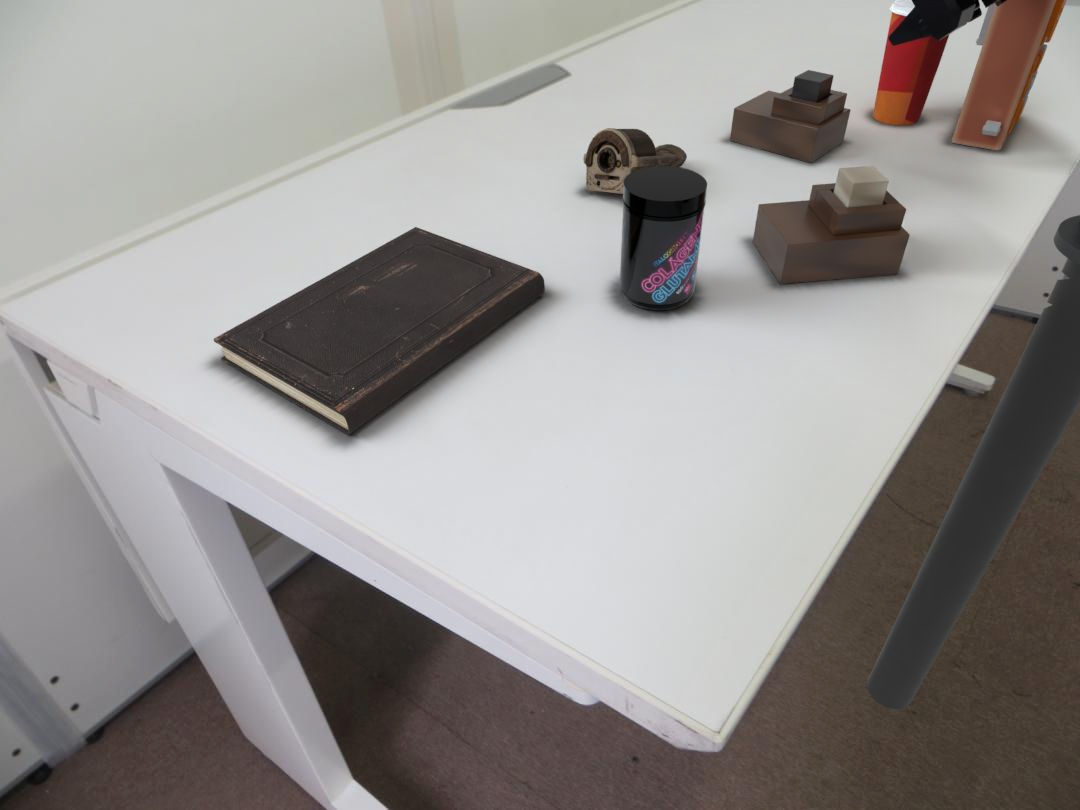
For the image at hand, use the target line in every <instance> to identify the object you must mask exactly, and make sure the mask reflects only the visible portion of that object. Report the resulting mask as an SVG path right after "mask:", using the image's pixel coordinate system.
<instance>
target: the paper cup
mask: <svg viewBox="0 0 1080 810" xmlns="http://www.w3.org/2000/svg"><path fill="white" fill-rule="evenodd" d="M914 7H915V6H914V4H913V2H912V0H894V1H893V3H892V4H891V6H890V7H889V9H888V11H889V12H891V16H890V21H889V26H888V32H887V36H886V42H885V46H884V52H883V58H882V63H881V67H880V74H879V78H878V79H879V80H878V85H877V90H876V95H875V101H874V107H873V113H872V117H873V119H875V120H876V121H878V122H880V123H883V124H886V125H892V126H910V125H914V124H917V123H918V122H919V120H920V118H921V116H922V113H923V111H924V108H925V105H926V103H927V100H928V97H929V94H930V91H931V89H932V86H933V83H934V80H935V77H936V75H937V72H938V69H939V66H940V64H941V61H942V58H943V56H944V52H945V48H946V46H947V43H948V40H949V37H950V36H951V34H949V35H948V36H946V37H944V38H943V39H941V40H939V41H937V40H936V39H935V38H933V37H932V36H929V37H926V38H922V39H918V40H914V41H911V42H907V43H903V44H899V45H896V46H893V45H892V44H891V42H890V41H889V36H890V34H891V33H892V32H893V31H894V30H895V29H896V28H897V27H898V25H899V24H900V23H901V22H902V21H903V20H904V19H905V17H906V16H907V15H908V14H909V13H910V12H911V11H912V9H913V8H914Z"/></svg>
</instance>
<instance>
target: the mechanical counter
mask: <svg viewBox="0 0 1080 810" xmlns="http://www.w3.org/2000/svg"><path fill="white" fill-rule="evenodd" d="M687 158H688V156H687V153H686V152H685V150H683V149H682V148H681V147H679V146H677V145H674V144H670V143H665V144H661V145H658V146H655V143H654V140H653V139H652V138H651V137H650V135H648V133H647V132H645V131H644V130H641V129H639V128H614V127H613V128H612V127H607V128H604V129H602V130H599V131H598V132H597V133H596V134H595V135H594V136H593V137H592V138H591V140H590V142H589V145H588V147H587V150H586V152H585V153H584V154H583V158H582V159H583V164H584V165H585V166H586V167H585V168H586V169H585V170H586V173H585V174H586V176H585V177H586V178H585V190H586V191H592V192H602V193H603V192H605V193H612V194H621V195H623V186H624V179H625V178H626V176H627V175H629V174H630V173H632V172H634V171H636V170H639V169H642V168H646V167H653V166H673V167H680V168H681V167H682V166H683V165H684V164H685V162H686V160H687Z"/></svg>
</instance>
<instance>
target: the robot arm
mask: <svg viewBox="0 0 1080 810" xmlns="http://www.w3.org/2000/svg"><path fill="white" fill-rule="evenodd" d="M1006 1H1008V0H981V2H982V4H983V6H984V7H985V9H988V7H989V6H990V5H992V4H994V3H995V4H996V6H997V7H998V6H999V5H1001V4H1003V3H1005V2H1006ZM912 2H913V4H914V6H915V7H914V8H913V9H912V11H911V12H910V13H909V14H908V15H907V16H906V17H905V19H904V20H903V21H902V22H901V23H900V24H899V25H898V27H897V28H896V29H895V30H894V31H893V32H892V33H891V34H890V36H889V41H890V42H891V44H892V45H893V46H896V45H899V44H903V43H907V42H911V41H914V40H918V39H922V38H926V37H929V36H932V37H933V38H935V39H936V40H937V41H939V40H941V39H943V38H944V37H946V36H948V35H949V34H950V35H951V34H952V33H954V32H956V31H957V30H960V29H961V28H962V27H964V26H966V25H967V24H968V23H970V22H973V21H975V20H976V19H978V18H980V17H981V16H982V15H983V12H982V9H981V4H980V0H912ZM950 35H949V36H950ZM1079 223H1080V222H1079Z"/></svg>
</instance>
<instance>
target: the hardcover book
mask: <svg viewBox="0 0 1080 810" xmlns="http://www.w3.org/2000/svg"><path fill="white" fill-rule="evenodd" d="M545 289H546V284H545V278H544V277H543V275H542V274H541V272H538V271H537V270H533V269H530V268H528V267H525V266H523V265H520V264H517V263H514V262H511V261H509V260H506V259H504V258H501V257H498V256H496V255H492V254H490V253H487V252H485V251H482V250H479V249H477V248H475V247H472V246H469V245H465V244H463V243H460V242H458V241H455V240H453V239H451V238H446V237H445V236H441V235H439V234H436V233H433V232H431V231H428V230H425V229H422V228H420V227H417V226H414V227H413V228H412V229H409V230H408V231H406V232H403V233H402V234H400V235H398V236H396V237H395V238H393V239H391V240H389V241H387V242H386V243H384V244H382V245H380V246H379V247H376V248H375V249H373V250H371V251H369V252H368V253H366V254H364V255H362V256H360V257H359V258H357V259H355V260H353V261H351V262H350V263H348V264H346V265H345V266H342V267H341V268H339V269H337V270H336V271H333V272H332V273H330V274H328V275H326V276H324V277H322V278H321V279H318V280H317V281H315V282H313V283H312V284H310V285H308V286H306V287H305V288H303V289H301V290H299V291H297V292H295V293H293V294H292V295H290V296H288V297H286V298H285V299H283V300H281V301H279V302H277V303H275V304H274V305H272V306H270V307H268V308H267V309H265V310H263V311H261V312H259V313H258V314H255V315H253V316H252V317H250V318H248V319H246V320H244V321H243V322H241V323H239V324H237V325H236V326H234V327H232V328H230V329H229V330H226V331H225V332H223V333H221V334H220V335H218V336H216V337H214V338H213V342H214V343H216V344H217V345H219V346H221V350H220V351H221V352H222V353H223V354H224V356H222V357H221V358H220V360H221V361H222V362H223V363H225V364H227V365H229V366H230V367H232V368H234V369H235V370H237V371H238V372H240V373H242V374H244V375H246V376H247V377H249V378H250V379H252V380H253V381H256V382H257V383H259V384H261V385H262V386H264V387H265V388H267V389H269V390H271V391H272V392H274V393H276V394H277V395H279V396H281V397H282V398H284V399H286V400H288V401H289V402H291V403H292V404H294V405H295V406H298V407H299V408H300V409H302V410H304V411H306V412H308V413H309V414H311V415H313V416H314V417H316V418H318V419H320V420H321V421H323V422H324V423H326V424H328V425H329V426H331V427H332V428H334V429H336V430H338V431H340V432H341V433H343V434H345V435H351V434H352V433H354V432H355V431H356V430H358V429H359V428H361V427H362V426H363V425H364V424H366V423H367V422H368V421H370V420H372V419H373V418H374V417H375V416H377V415H379V414H380V413H381V412H382V411H384V410H385V409H387V408H388V407H389V406H390V405H392V404H394V403H395V402H396V401H397V400H399V399H400V398H402V397H403V396H404V395H406V394H407V393H409V392H410V391H411V390H412V389H414V388H415V387H417V386H418V385H420V384H421V383H423V382H424V381H425V380H426V379H428V378H429V377H430V376H432V375H433V374H435V373H436V372H437V371H439V370H440V369H441V368H443V367H444V366H445V365H447V364H448V363H450V362H452V360H454V359H455V358H456V357H458V356H459V355H461V354H462V353H464V352H465V351H466V350H468V349H469V348H471V346H473V345H474V344H476V343H477V342H479V341H480V340H481V339H482V338H485V336H487V335H488V334H490V333H491V332H493V331H494V330H495V329H496V328H498V327H499V326H501V325H502V324H503V323H505V322H507V320H509V319H510V318H511V317H513V316H514V315H515V314H517V313H518V312H520V311H521V310H523V309H524V308H525V307H526V306H528V305H529V304H531V303H532V302H533V301H535V300H536V299H537V298H539V297H541V296H542V295H544V294H545V291H546V290H545Z"/></svg>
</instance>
